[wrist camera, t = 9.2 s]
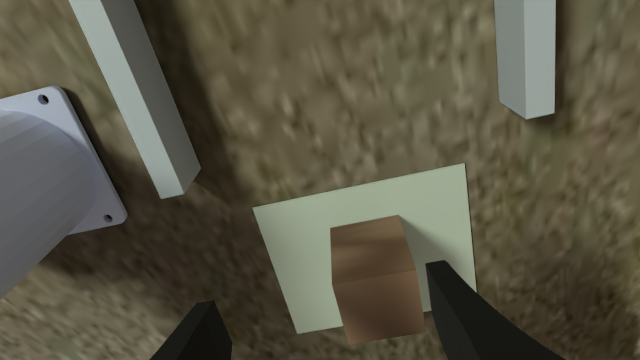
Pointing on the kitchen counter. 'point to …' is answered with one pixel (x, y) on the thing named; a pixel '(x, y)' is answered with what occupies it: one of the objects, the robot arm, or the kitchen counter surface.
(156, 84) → the u-shaped barrier
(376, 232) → the block
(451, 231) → the mat
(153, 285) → the kitchen counter surface
